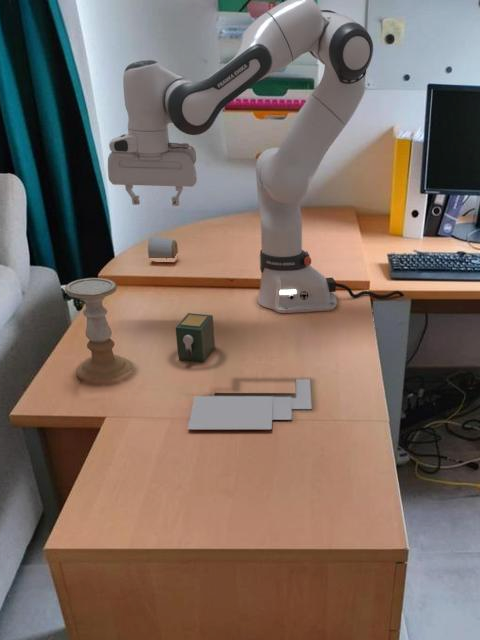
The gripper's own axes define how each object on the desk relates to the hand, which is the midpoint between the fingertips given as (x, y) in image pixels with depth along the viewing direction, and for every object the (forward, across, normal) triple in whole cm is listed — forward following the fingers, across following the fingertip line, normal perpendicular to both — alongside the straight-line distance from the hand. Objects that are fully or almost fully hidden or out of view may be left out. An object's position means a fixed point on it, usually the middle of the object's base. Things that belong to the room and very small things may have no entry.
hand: (156, 204), depth 173 cm
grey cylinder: (+29, +8, -48) cm, 57 cm away
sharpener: (+28, -10, +25) cm, 39 cm away
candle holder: (+29, +10, +32) cm, 44 cm away
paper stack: (+29, -24, +47) cm, 60 cm away
